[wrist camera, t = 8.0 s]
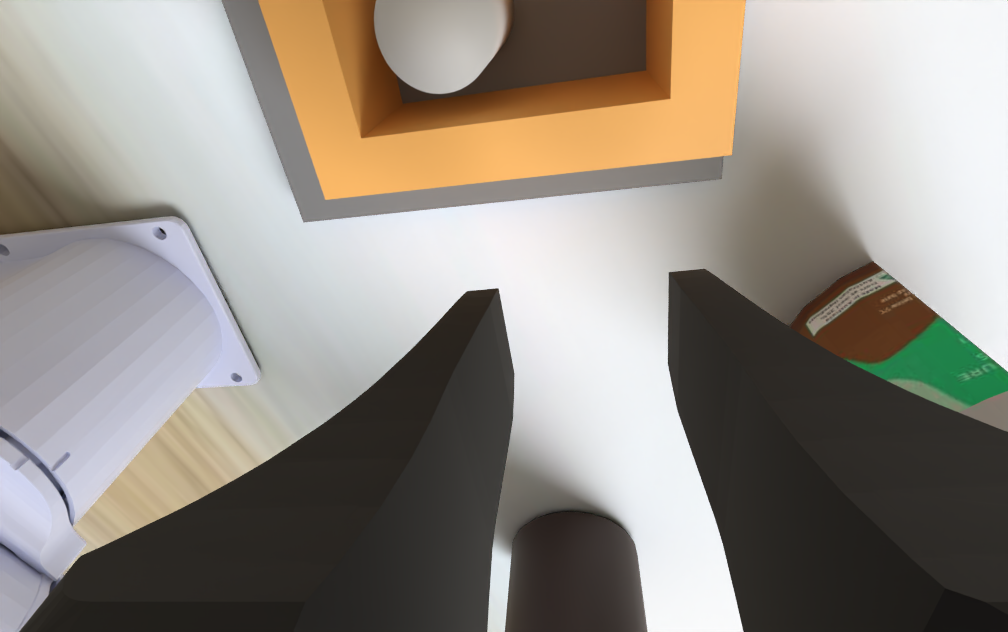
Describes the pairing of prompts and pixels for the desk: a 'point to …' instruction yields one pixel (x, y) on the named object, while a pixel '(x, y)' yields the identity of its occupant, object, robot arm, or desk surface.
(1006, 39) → the desk surface
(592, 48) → the plate
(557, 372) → the desk surface
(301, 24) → the link
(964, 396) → the food container
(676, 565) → the desk surface
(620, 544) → the vinegar
